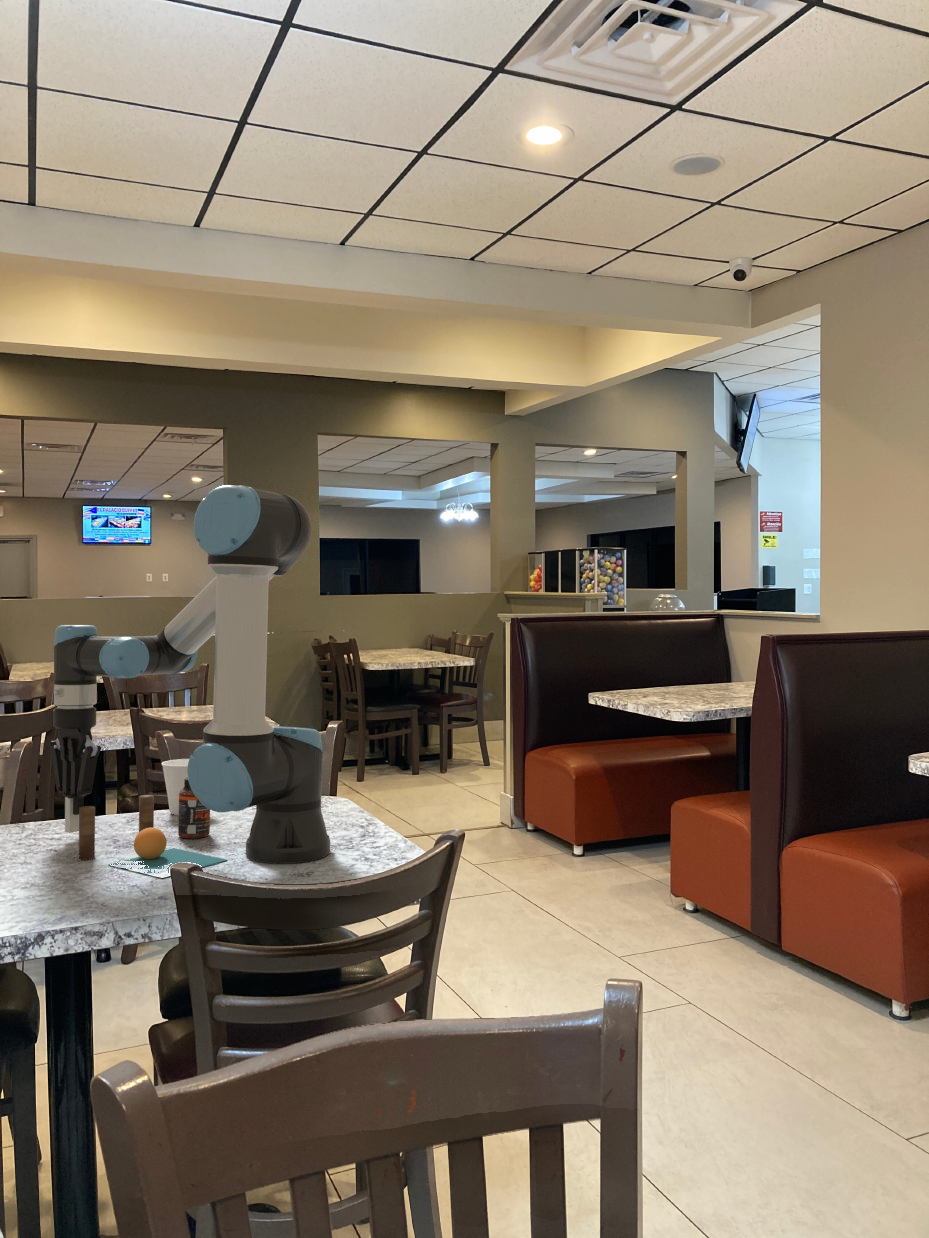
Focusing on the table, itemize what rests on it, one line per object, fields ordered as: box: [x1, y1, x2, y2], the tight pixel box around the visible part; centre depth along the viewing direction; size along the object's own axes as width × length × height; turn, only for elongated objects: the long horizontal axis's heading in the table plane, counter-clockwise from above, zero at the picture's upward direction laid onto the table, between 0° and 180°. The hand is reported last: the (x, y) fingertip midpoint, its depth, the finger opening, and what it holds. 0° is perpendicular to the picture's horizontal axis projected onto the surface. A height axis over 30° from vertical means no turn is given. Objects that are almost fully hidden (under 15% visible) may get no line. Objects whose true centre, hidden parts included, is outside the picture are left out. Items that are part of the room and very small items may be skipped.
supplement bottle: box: [177, 777, 211, 840], centre depth 183 cm, size 6×6×11 cm
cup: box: [161, 758, 190, 816], centre depth 203 cm, size 10×10×11 cm
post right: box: [138, 794, 155, 833], centre depth 176 cm, size 3×3×9 cm
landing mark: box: [108, 847, 228, 873], centre depth 163 cm, size 14×14×1 cm
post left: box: [78, 805, 96, 861], centre depth 165 cm, size 3×3×9 cm
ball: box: [133, 827, 167, 859], centre depth 165 cm, size 6×6×6 cm
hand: (73, 830), depth 177 cm, fingers closed
